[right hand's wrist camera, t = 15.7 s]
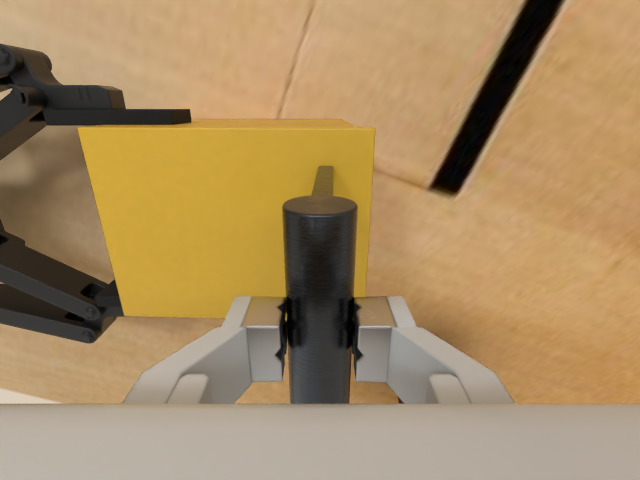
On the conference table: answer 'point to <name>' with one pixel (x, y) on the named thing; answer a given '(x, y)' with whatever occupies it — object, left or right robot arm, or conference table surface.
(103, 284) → the left robot arm
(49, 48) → the conference table surface
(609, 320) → the conference table surface
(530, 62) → the conference table surface
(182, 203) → the yellow panel
